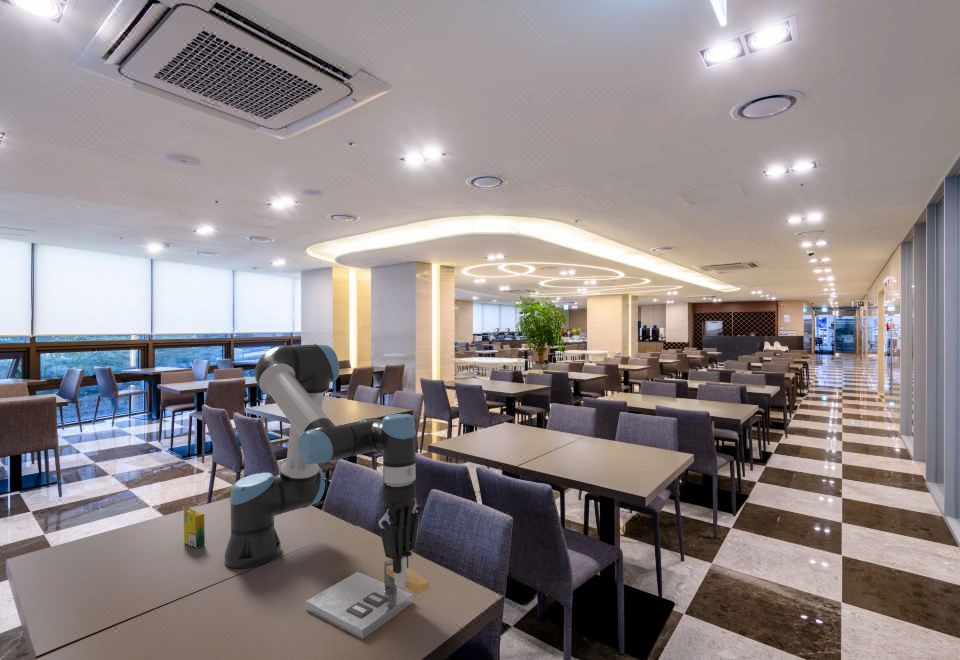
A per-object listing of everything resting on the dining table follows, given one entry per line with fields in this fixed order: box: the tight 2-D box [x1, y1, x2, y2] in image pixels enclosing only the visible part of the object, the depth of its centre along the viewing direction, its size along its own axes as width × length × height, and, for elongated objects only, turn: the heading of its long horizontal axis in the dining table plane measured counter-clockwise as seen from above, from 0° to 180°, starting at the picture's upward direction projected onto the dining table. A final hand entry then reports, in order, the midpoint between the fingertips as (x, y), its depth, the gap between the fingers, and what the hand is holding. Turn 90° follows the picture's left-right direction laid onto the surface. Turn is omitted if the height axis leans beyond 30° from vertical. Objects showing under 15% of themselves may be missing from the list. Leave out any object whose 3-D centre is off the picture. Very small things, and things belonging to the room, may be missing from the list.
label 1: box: [346, 602, 373, 618], centre depth 106 cm, size 5×4×1 cm
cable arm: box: [383, 559, 430, 595], centre depth 110 cm, size 16×4×2 cm, turn 43°
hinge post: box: [383, 571, 398, 593], centre depth 114 cm, size 3×3×7 cm
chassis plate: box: [304, 571, 414, 640], centre depth 111 cm, size 20×16×2 cm
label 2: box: [363, 592, 388, 607], centre depth 110 cm, size 5×4×1 cm
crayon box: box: [183, 506, 206, 548], centre depth 146 cm, size 7×3×12 cm, turn 58°
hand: (400, 585), depth 106 cm, fingers closed
